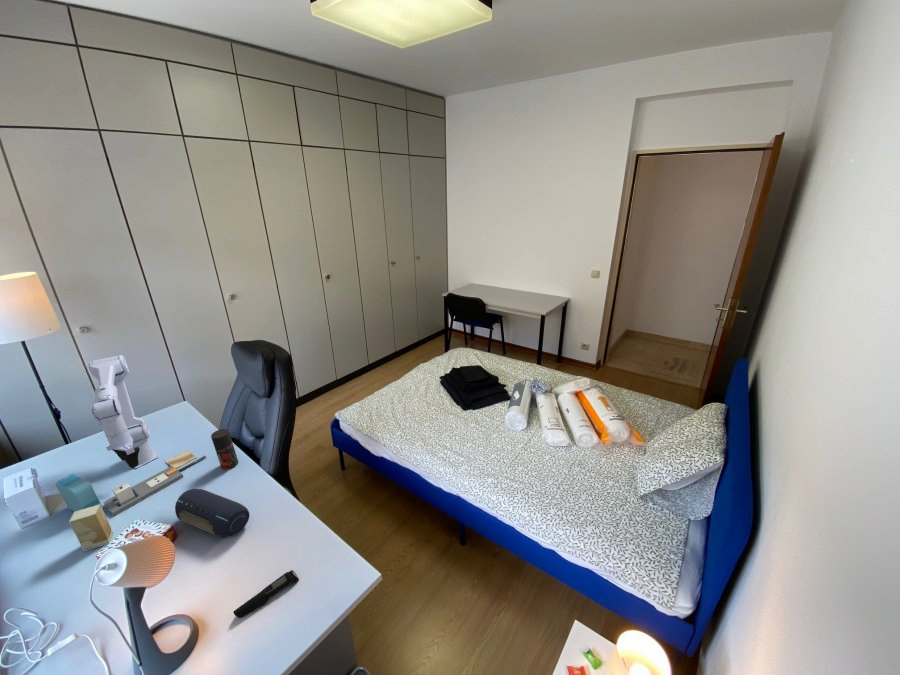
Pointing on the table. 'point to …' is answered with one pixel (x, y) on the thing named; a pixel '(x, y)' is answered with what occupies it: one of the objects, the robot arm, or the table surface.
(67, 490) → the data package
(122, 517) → the table surface
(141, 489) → the power strip
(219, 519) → the portable speaker
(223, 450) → the deodorant
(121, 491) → the charger plug
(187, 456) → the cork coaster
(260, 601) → the electric trimmer
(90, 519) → the skincare box
